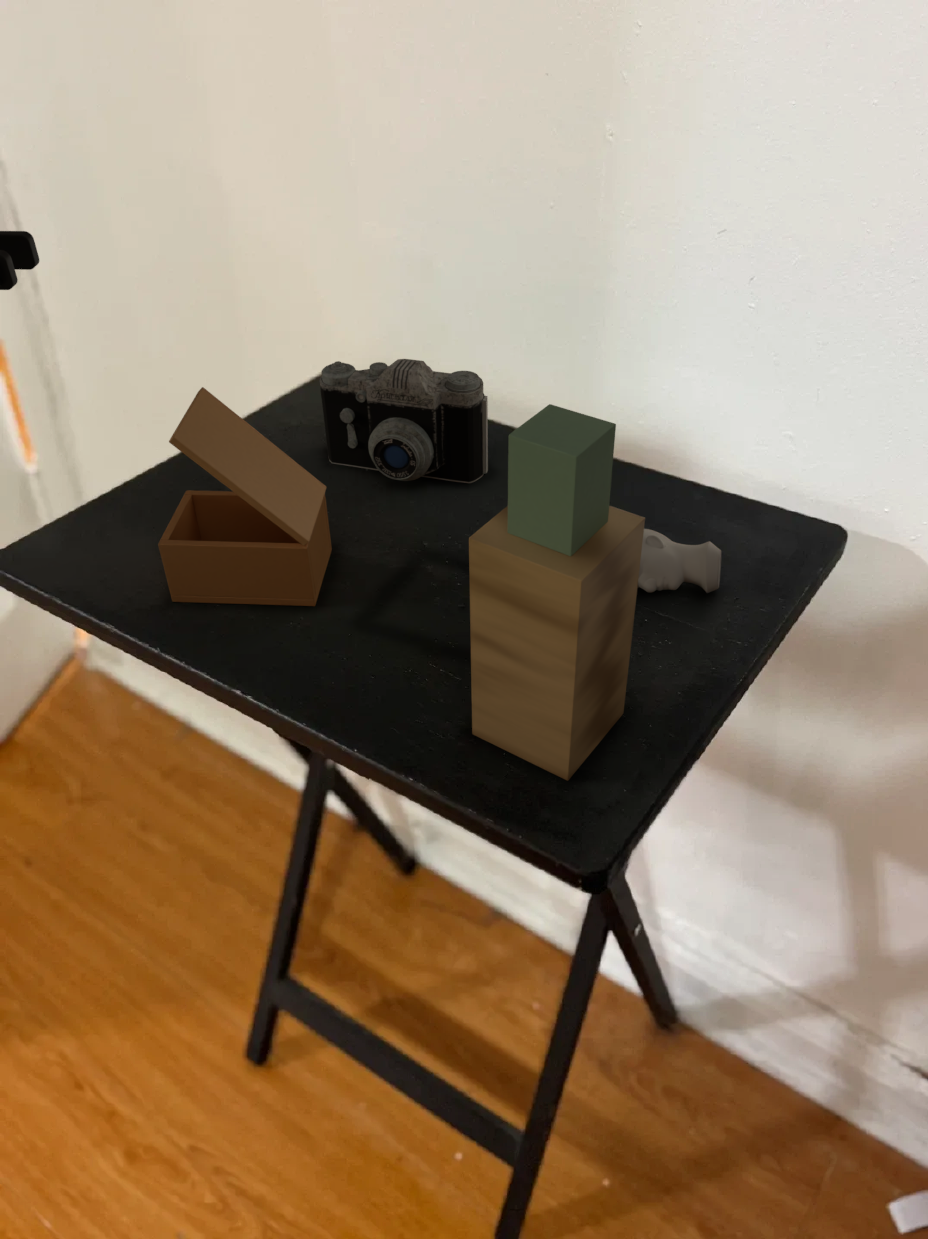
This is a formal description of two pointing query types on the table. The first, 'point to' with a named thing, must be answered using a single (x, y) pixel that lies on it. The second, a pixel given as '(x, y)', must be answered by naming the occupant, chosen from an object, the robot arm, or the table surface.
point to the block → (559, 478)
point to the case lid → (249, 465)
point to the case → (240, 554)
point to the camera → (406, 420)
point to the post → (551, 639)
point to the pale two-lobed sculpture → (677, 564)
